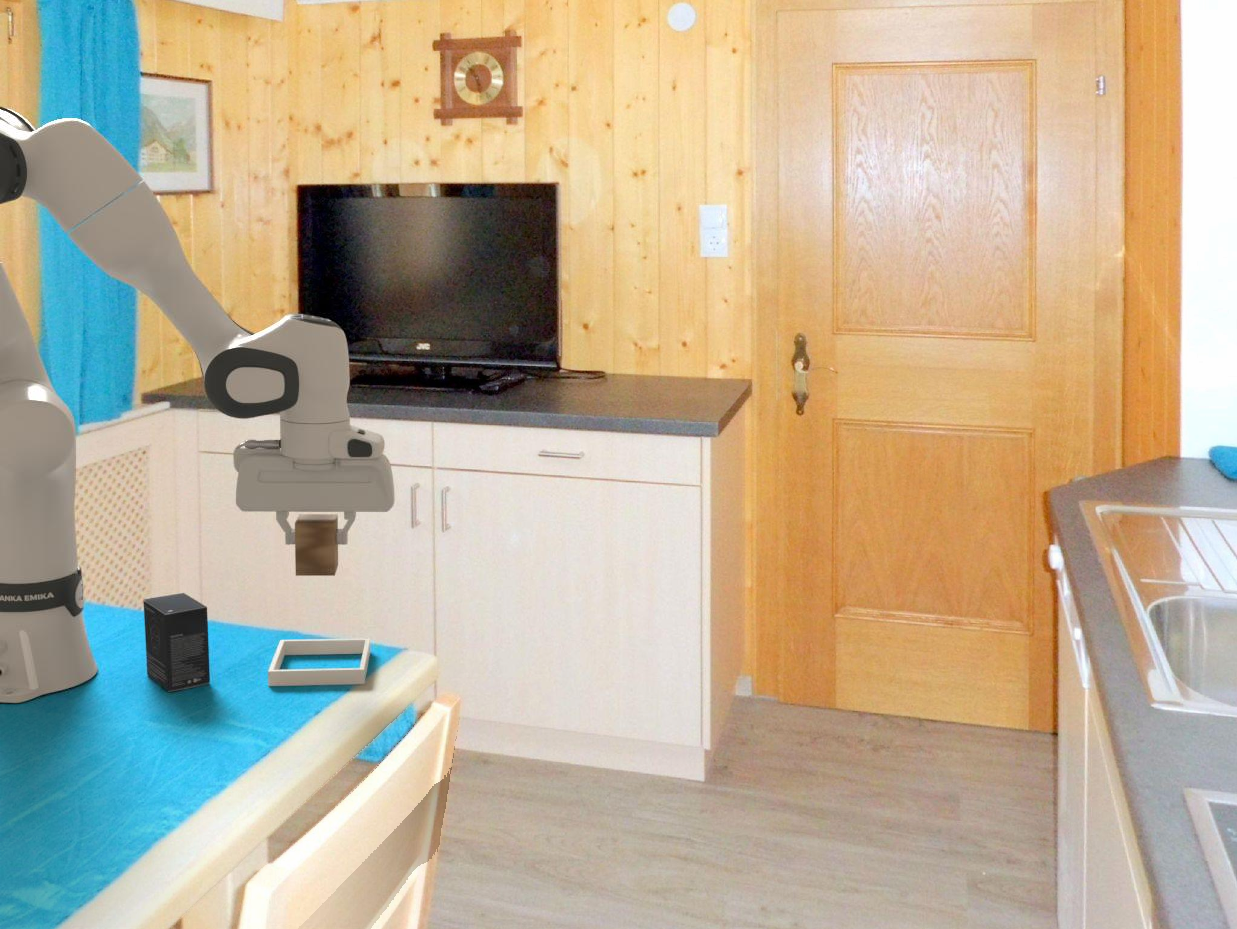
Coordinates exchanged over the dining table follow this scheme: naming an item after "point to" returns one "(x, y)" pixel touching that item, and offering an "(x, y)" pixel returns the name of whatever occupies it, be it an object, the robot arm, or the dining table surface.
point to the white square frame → (319, 675)
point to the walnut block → (316, 545)
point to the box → (176, 641)
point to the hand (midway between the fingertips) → (316, 543)
